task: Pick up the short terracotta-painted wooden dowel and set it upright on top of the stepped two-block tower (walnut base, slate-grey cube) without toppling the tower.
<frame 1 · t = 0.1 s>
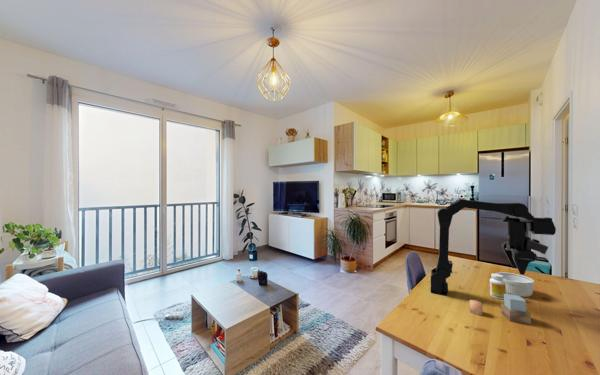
hand: (518, 270, 91), 15 cm above the table, fingers open, 9 cm apart
terracotta dowel: (476, 312, 87), on the table
slate block: (514, 308, 83), point 4 cm above the table, touching walnut base block
walnut base block: (515, 318, 83), on the table, touching slate block
supplement bottle: (497, 297, 100), on the table
ramekin: (514, 292, 104), on the table
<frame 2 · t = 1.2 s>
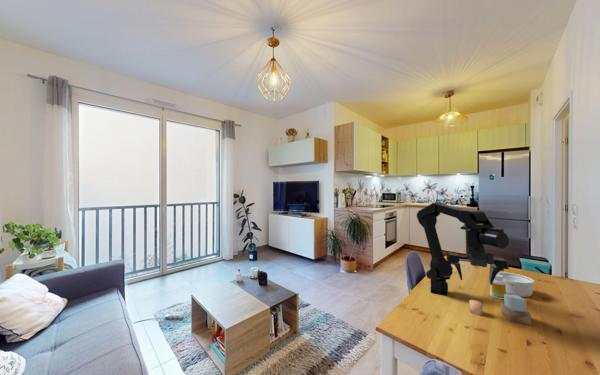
hand: (475, 282, 87), 12 cm above the table, fingers open, 9 cm apart
nothing on the table moved.
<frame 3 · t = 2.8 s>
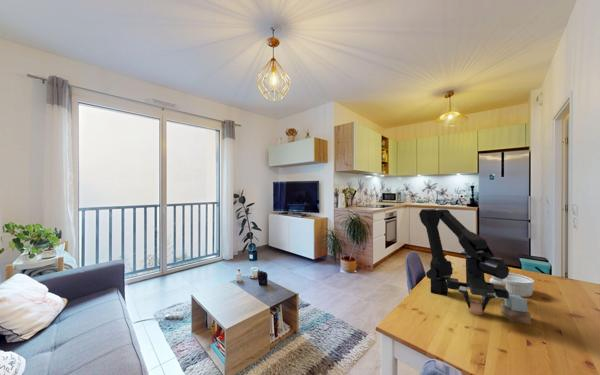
hand: (475, 309, 87), 1 cm above the table, fingers closed on terracotta dowel, 4 cm apart
terracotta dowel: (475, 312, 87), on the table, touching gripper
everything else where it was.
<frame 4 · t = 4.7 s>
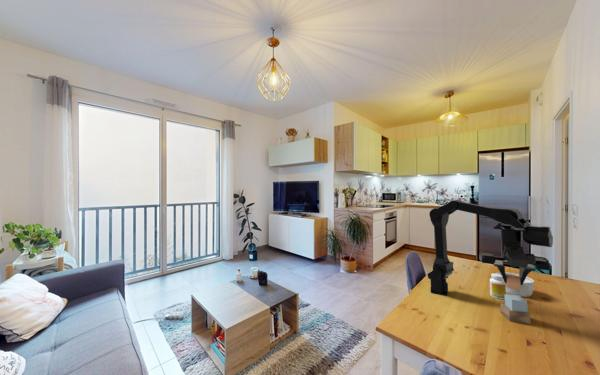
hand: (513, 283, 83), 13 cm above the table, fingers closed on terracotta dowel, 4 cm apart
terracotta dowel: (513, 287, 83), point 12 cm above the table, touching gripper
slate block: (515, 308, 83), point 4 cm above the table
walnut base block: (514, 318, 83), on the table
everything else where it was.
when the fingers open (10 cm above the table, at t = 5.4 s): terracotta dowel drops 1 cm, resting on slate block.
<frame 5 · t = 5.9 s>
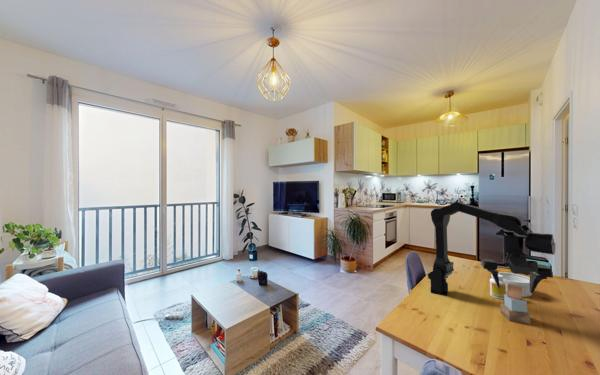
hand: (514, 290, 83), 10 cm above the table, fingers open, 9 cm apart
terracotta dowel: (514, 297, 83), point 8 cm above the table, touching slate block
slate block: (515, 308, 83), point 4 cm above the table, touching terracotta dowel, walnut base block
walnut base block: (514, 318, 83), on the table, touching slate block
everything else where it was.
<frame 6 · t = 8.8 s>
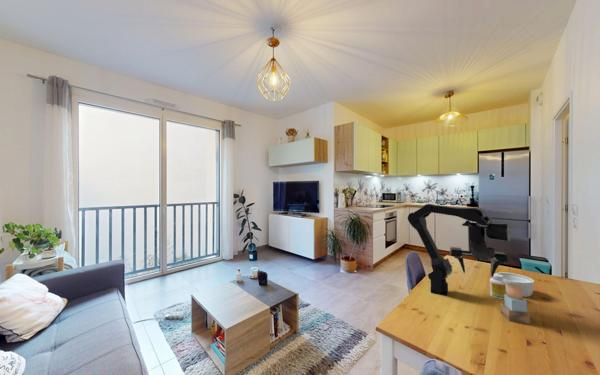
hand: (477, 274, 93), 13 cm above the table, fingers open, 9 cm apart
nothing on the table moved.
at the end: terracotta dowel 0.3 cm off-centre on the slate block, point 4.0 cm above the slate block's base; terracotta dowel tilted 1°; slate block moved 0.4 cm from its start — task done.
